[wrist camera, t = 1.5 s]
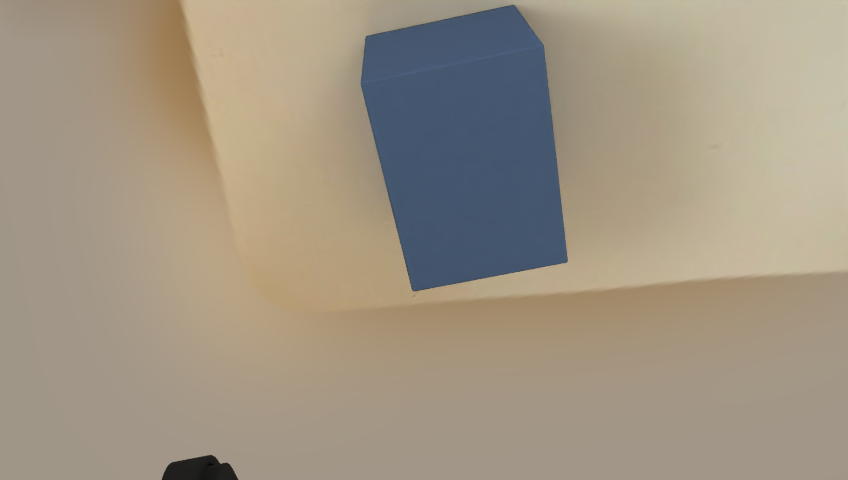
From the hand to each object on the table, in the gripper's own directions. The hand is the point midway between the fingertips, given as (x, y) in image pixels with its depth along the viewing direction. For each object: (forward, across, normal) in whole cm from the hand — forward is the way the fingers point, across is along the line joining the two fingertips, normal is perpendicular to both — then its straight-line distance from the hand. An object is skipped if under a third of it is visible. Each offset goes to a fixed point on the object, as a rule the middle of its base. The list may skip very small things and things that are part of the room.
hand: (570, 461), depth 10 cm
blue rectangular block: (+17, 0, +1) cm, 17 cm away
